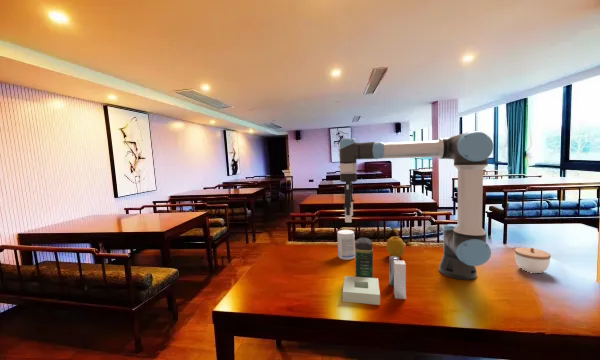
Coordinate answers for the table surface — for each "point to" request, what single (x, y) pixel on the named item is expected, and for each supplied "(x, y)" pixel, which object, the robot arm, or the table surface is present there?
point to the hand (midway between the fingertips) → (349, 218)
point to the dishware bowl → (532, 259)
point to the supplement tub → (346, 244)
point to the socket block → (361, 290)
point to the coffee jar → (364, 257)
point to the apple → (395, 246)
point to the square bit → (399, 279)
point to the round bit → (392, 268)
